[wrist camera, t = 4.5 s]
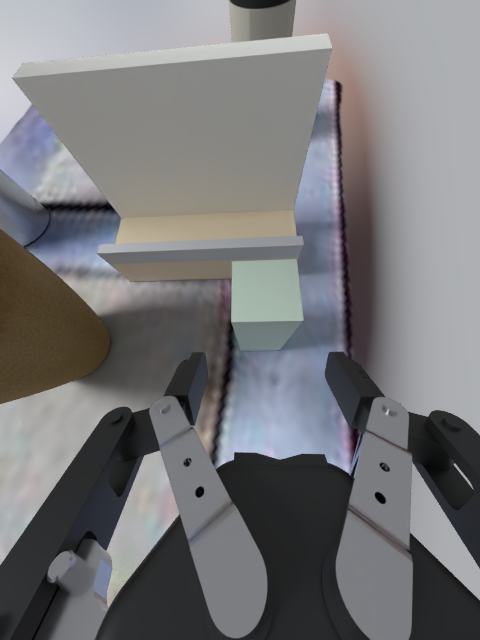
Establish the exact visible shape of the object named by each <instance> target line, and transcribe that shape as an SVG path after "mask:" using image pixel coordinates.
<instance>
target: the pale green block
mask: <svg viewBox="0 0 480 640" xmlns="http://www.w3.org/2000/svg"><path fill="white" fill-rule="evenodd" d="M303 321H304V318H303V309H302V301H301V292H300V283H299V274H298V265H297V259H286V260H258V261H232V303H231V323H232V326H233V329H234V332H235V335H236V338H237V341H238V344H239V348H240V351H279V350H280V349H281V348H282V347H283V346H284V344H285V343H286V342H287V341H288V339H289V338H290V337H291V336H292V335H293V333H294V332H295V331H296V330H297V328H298V327H299V326H300V325H301V324H302V322H303Z"/></svg>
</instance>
